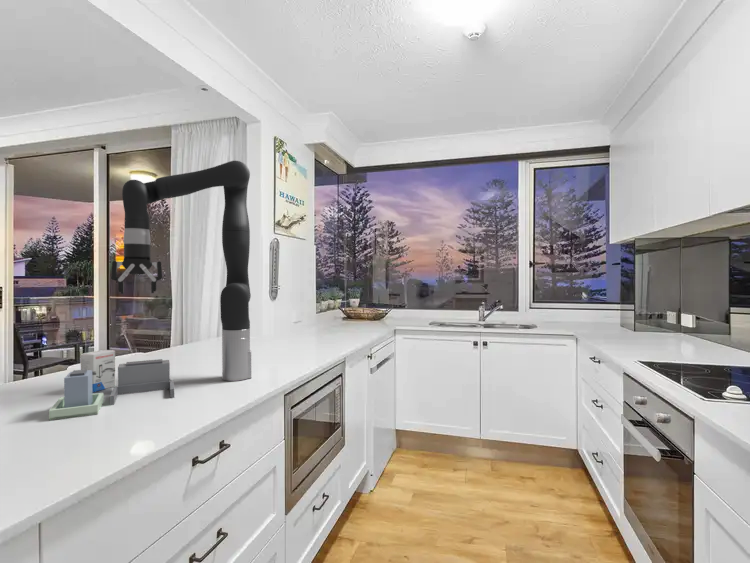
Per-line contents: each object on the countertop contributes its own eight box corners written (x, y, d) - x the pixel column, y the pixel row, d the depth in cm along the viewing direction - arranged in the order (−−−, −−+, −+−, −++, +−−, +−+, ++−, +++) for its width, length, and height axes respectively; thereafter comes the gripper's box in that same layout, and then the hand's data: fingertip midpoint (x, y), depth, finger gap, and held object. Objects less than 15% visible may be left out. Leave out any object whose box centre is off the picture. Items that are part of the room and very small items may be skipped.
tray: (103, 401, 118) (103, 392, 118) (97, 414, 107) (97, 405, 107) (60, 406, 114) (60, 397, 114) (49, 420, 102) (49, 410, 102)
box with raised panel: (92, 402, 115) (92, 367, 115) (88, 410, 108) (87, 373, 108) (70, 405, 113) (70, 369, 112) (64, 413, 105) (64, 375, 105)
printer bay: (172, 383, 138) (172, 357, 137) (174, 397, 122) (174, 368, 122) (116, 389, 130) (115, 362, 130) (109, 405, 114) (109, 374, 114)
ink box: (93, 393, 127) (93, 354, 127) (79, 392, 128) (79, 354, 128) (116, 385, 135) (116, 349, 135) (103, 385, 136) (103, 349, 136)
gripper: (161, 245, 141) (162, 292, 141) (112, 243, 134) (112, 293, 134) (162, 243, 134) (162, 293, 134) (110, 241, 128) (110, 294, 128)
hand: (137, 293), depth 134 cm, fingers open, 8 cm apart
